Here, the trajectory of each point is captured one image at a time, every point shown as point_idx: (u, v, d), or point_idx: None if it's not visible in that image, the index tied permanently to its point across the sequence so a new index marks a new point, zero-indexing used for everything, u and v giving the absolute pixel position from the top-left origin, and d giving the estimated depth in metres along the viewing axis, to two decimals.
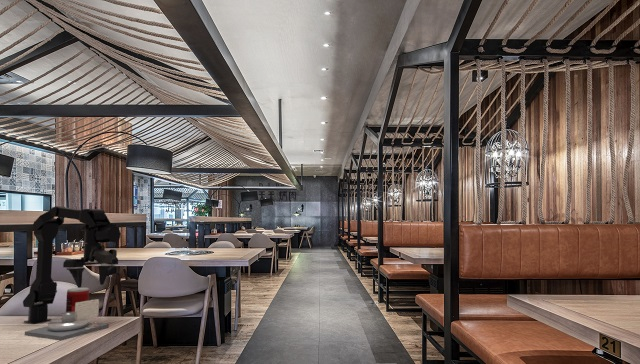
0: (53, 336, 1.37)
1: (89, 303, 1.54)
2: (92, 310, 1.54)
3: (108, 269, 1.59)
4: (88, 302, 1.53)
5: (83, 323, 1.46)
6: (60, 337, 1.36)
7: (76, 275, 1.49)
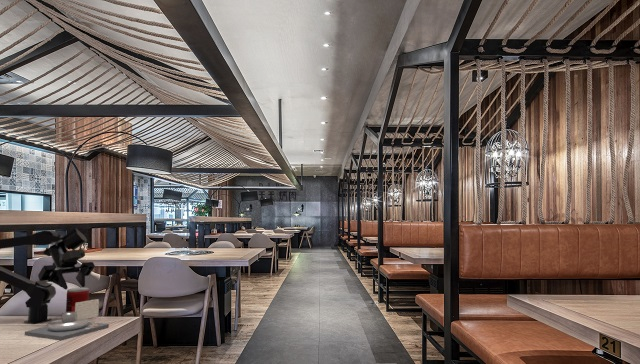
0: (53, 336, 1.37)
1: (89, 303, 1.54)
2: (92, 310, 1.54)
3: (83, 272, 1.64)
4: (88, 302, 1.53)
5: (83, 323, 1.46)
6: (60, 337, 1.36)
7: (59, 280, 1.56)
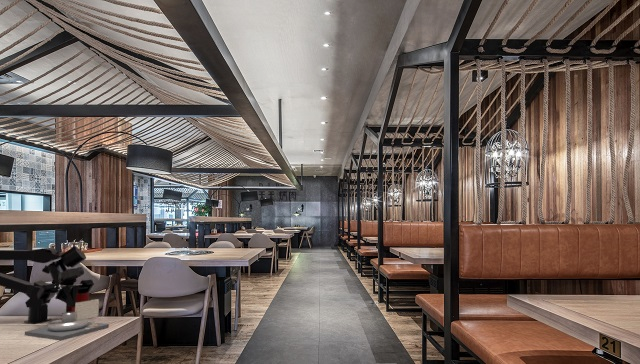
0: (53, 336, 1.37)
1: (89, 303, 1.54)
2: (92, 310, 1.54)
3: (74, 291, 1.60)
4: (88, 302, 1.53)
5: (83, 323, 1.46)
6: (60, 337, 1.36)
7: (66, 298, 1.58)
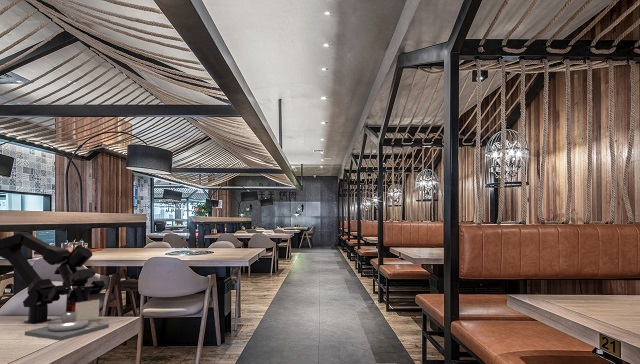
0: (53, 336, 1.37)
1: (89, 303, 1.53)
2: (92, 310, 1.54)
3: (86, 292, 1.57)
4: (88, 302, 1.53)
5: (83, 323, 1.46)
6: (60, 337, 1.36)
7: (78, 299, 1.54)
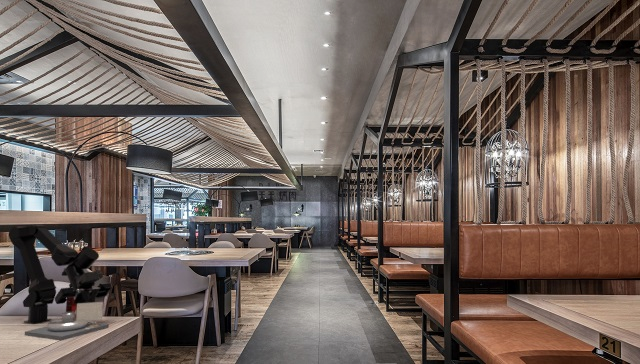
0: (53, 336, 1.37)
1: (91, 305, 1.50)
2: (94, 312, 1.50)
3: (93, 295, 1.54)
4: (89, 304, 1.50)
5: (71, 325, 1.43)
6: (60, 337, 1.36)
7: (84, 302, 1.52)
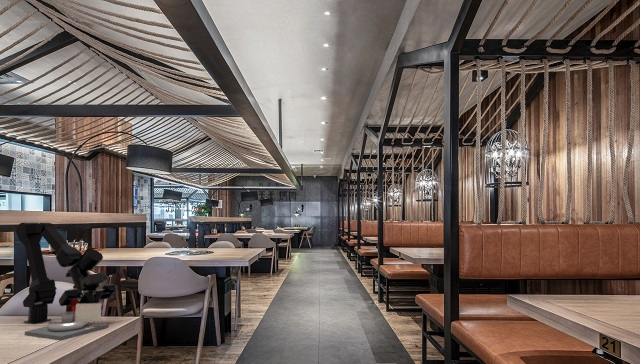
0: (53, 336, 1.37)
1: (89, 306, 1.48)
2: (92, 314, 1.48)
3: (97, 297, 1.53)
4: (88, 305, 1.48)
5: (66, 326, 1.42)
6: (60, 337, 1.36)
7: None
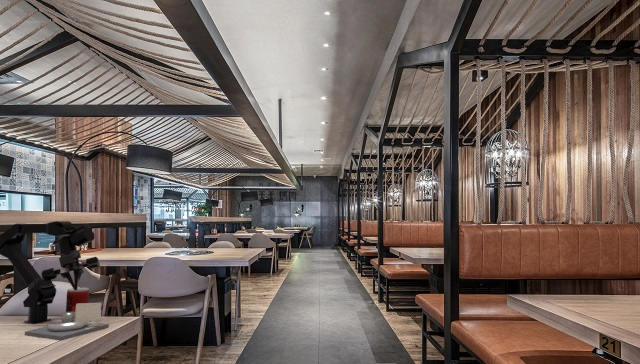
0: (53, 336, 1.37)
1: (89, 306, 1.48)
2: (92, 314, 1.48)
3: (76, 273, 1.58)
4: (88, 305, 1.48)
5: (66, 326, 1.42)
6: (60, 337, 1.36)
7: None
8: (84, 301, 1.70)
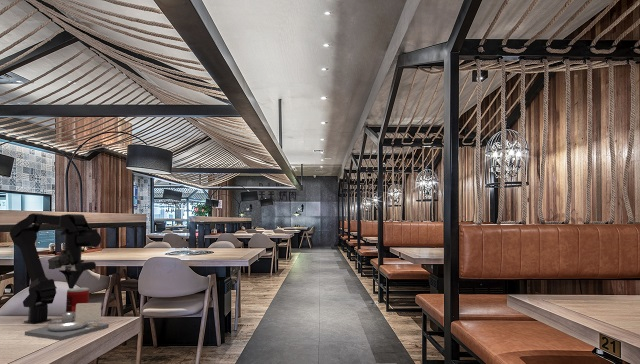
0: (53, 336, 1.37)
1: (89, 306, 1.48)
2: (92, 314, 1.48)
3: (69, 274, 1.58)
4: (88, 305, 1.48)
5: (66, 326, 1.42)
6: (60, 337, 1.36)
7: None
8: (84, 301, 1.70)
